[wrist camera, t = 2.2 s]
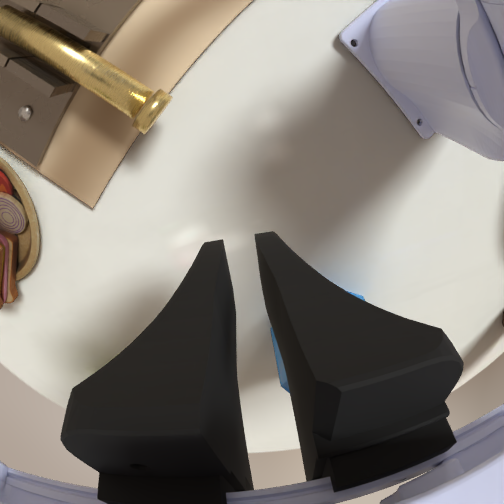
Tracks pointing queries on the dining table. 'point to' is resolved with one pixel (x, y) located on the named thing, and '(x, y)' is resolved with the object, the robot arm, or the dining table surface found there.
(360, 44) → the robot arm
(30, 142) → the hinge leaves
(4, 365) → the dining table surface
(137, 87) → the hinge pin
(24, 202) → the toy sandwich meal
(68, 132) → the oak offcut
